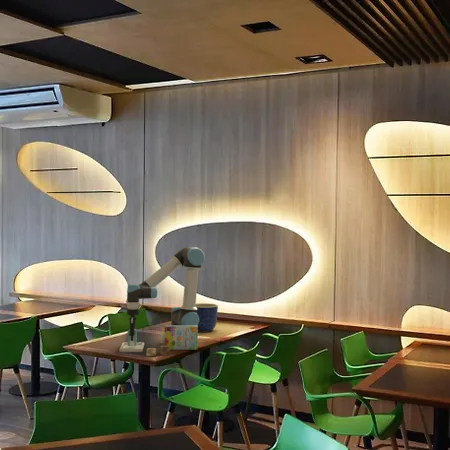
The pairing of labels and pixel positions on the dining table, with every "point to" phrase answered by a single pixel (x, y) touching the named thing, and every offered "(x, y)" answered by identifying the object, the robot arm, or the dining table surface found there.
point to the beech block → (151, 351)
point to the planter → (206, 316)
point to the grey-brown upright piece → (162, 338)
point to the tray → (132, 347)
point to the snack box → (181, 337)
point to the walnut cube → (164, 350)
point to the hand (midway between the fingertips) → (132, 344)
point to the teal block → (134, 337)
